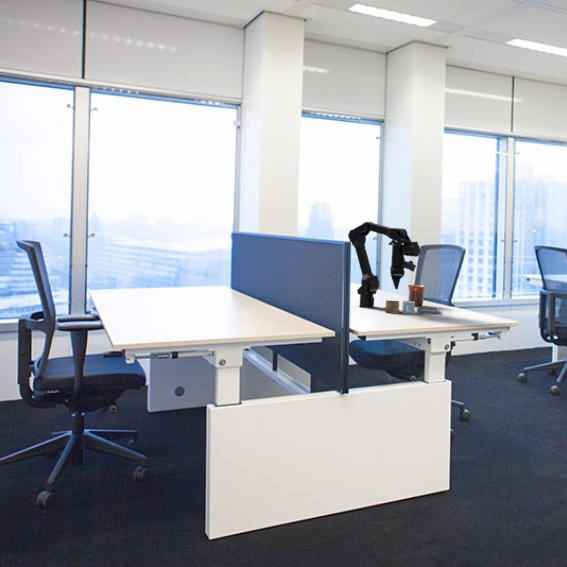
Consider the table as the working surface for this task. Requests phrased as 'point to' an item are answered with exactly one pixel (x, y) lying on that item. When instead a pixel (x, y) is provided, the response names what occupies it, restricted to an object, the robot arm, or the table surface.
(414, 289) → the mug
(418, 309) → the tray
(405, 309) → the blue-gray cube
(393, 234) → the robot arm
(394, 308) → the open wooden cubby box
